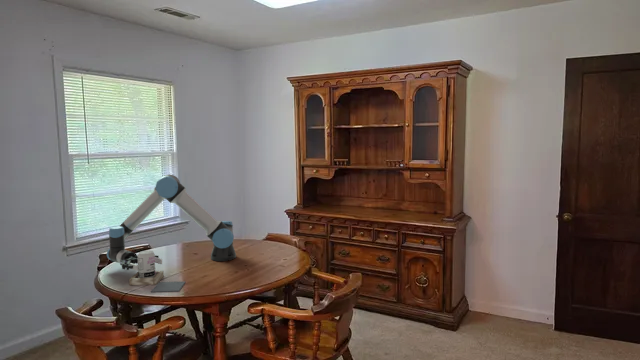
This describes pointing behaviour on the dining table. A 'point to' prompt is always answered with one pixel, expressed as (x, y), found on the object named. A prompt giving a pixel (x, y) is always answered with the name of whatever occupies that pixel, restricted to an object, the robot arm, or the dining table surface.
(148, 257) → the supplement can
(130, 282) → the holder collar
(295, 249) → the dining table surface
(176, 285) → the slate mat
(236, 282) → the dining table surface
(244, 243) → the dining table surface
